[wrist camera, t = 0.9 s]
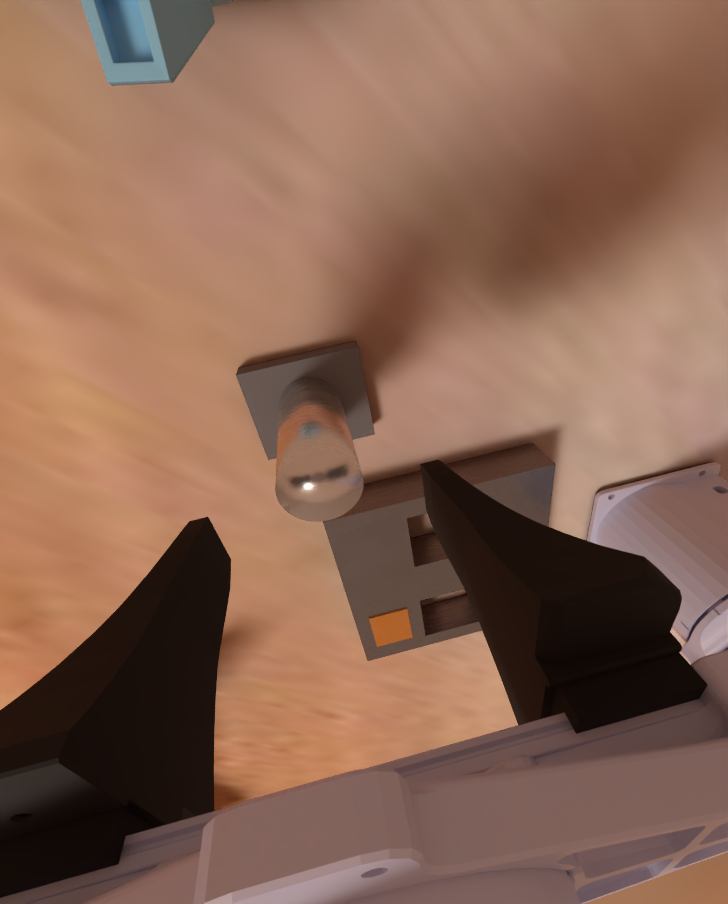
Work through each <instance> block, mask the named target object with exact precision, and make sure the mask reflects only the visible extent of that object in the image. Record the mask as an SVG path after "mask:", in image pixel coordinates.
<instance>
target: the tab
mask: <svg viewBox="0 0 728 904" xmlns="http://www.w3.org/2000/svg"><path fill="white" fill-rule="evenodd" d="M236 376H237V379H238V381H239V384H240V387H241V389H242V392H243V395H244V397H245V400H246V402H247V405H248V408H249V410H250V413H251V416H252V418H253V421H254V423H255V426H256V429H257V431H258V434H259V437H260V439H261V442H262V444H263V447H264V450H265V452H266V455H267V458H268V460H270V459H275V458H277V439H278V415H279V400H280V397H281V395H282V393H283V391H284V390H285V388H286V387H287V386H288V385H290V384H291V383H292V382H294V381H296V380H298V379H301V378H307V377H313V378H319V379H322V380H325V381H327V382H328V383H330V384H331V385H332V386H333V387H334V388H335V389H336V390H337V392H338V394H339V396H340V399H341V402H342V406H343V409H344V413H345V416H346V420H347V423H348V427H349V430H350V434H351V437H352V440H353V439H357V438H361V437H366V436H370V435H374V434H375V432H374V427H373V422H372V417H371V411H370V406H369V401H368V396H367V390H366V385H365V380H364V374H363V369H362V364H361V359H360V353H359V348H358V345H357V343H356V341H353V342H349V343H345V344H340V345H336V346H332V347H327V348H323V349H319V350H314V351H310V352H306V353H301V354H297V355H293V356H288V357H284V358H280V359H275V360H271V361H267V362H262V363H258V364H253V365H249V366H245V367H240V368H238V371H237V374H236Z"/></svg>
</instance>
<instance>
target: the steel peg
mask: <svg viewBox="0 0 728 904" xmlns="http://www.w3.org/2000/svg"><path fill="white" fill-rule="evenodd" d="M363 484H364V482H363V476H362V473H361V469H360V465H359V462H358V458H357V455H356V451H355V448H354V444H353V441H352V437H351V434H350V430H349V427H348V423H347V420H346V416H345V413H344V409H343V406H342V402H341V399H340V396H339V394H338V392H337V390H336V389H335V388H334V387H333V386H332V385H331V384H330V383H328V382H327V381H325V380H322V379H319V378H313V377H307V378H301V379H298V380H296V381H294V382H292V383H291V384H290V385H288V386H287V387H286V388H285V390H284V391H283V393H282V395H281V397H280V400H279V415H278V439H277V463H276V487H275V490H276V496H277V499H278V501H279V503H280V504H281V506H282V507H283V508H284V509H285V510H286V511H287V512H288V513H290V514H291V515H293V516H295V517H297V518H299V519H302V520H307V521H327V520H331V519H334V518H337V517H339V516H341V515H343V514H345V513H347V512H348V511H349V510H350V509H352V508H353V507H354V506H355V504H356V503H357V502H358V500H359V499H360V497H361V494H362V491H363Z"/></svg>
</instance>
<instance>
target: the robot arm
mask: <svg viewBox="0 0 728 904" xmlns="http://www.w3.org/2000/svg"><path fill="white" fill-rule="evenodd" d="M720 469H721V465H720V464H718V463H716V462H711V463H708V464H704V465H700V466H696V467H692V468H688V469H684V470H680V471H676V472H672V473H668V474H665V475H661V476H657V477H653V478H649V479H645V480H641V481H637V482H633V483H629V484H625V485H621V486H618V487H614V488H610V489H606V490H602V491H600V492H598V493H597V494H596V496H595V501H594V506H593V511H592V516H591V521H590V526H589V532H588V537H587V541H586V540H582V539H579V538H576V537H574V536H571V535H568V534H565V533H562V532H560V531H558V530H555V529H553V528H550V527H548V526H545V525H543V524H540V523H538V522H536V521H534V520H531V519H529V518H527V517H525V516H523V515H521V514H519V513H517V512H515V511H513V510H511V509H510V508H508V507H506V506H504V505H503V504H501V503H499V502H497V501H496V500H494V499H493V498H491V497H489V496H488V495H486V494H485V493H483V492H482V491H480V490H479V489H477V488H476V487H474V486H473V485H471V484H470V483H469V482H467V481H466V480H465V479H463V478H462V477H460V476H459V475H458V474H456V473H455V472H454V471H453V470H451V469H450V468H449V467H447V466H446V465H445V464H444V463H442V462H441V461H439V460H435V461H431V462H427V463H423V464H421V471H422V479H423V488H424V496H425V504H426V511H427V513H428V516H429V519H430V521H431V524H432V526H433V529H434V532H435V534H436V536H437V538H438V540H439V542H440V544H441V546H442V548H443V550H444V551H445V553H446V555H447V557H448V559H449V561H450V563H451V565H452V566H453V568H454V570H455V572H456V574H457V576H458V578H459V579H460V581H461V583H462V585H463V587H464V589H465V591H466V593H467V595H468V597H469V599H470V601H471V604H472V606H473V609H474V611H475V614H476V616H477V618H478V621H479V623H480V626H481V628H482V631H483V633H484V636H485V638H486V641H487V643H488V646H489V648H490V651H491V653H492V656H493V658H494V661H495V664H496V666H497V669H498V671H499V674H500V677H501V679H502V682H503V685H504V687H505V690H506V692H507V695H508V698H509V701H510V703H511V706H512V709H513V712H514V714H515V717H516V720H517V723H518V726H515V727H511V728H508V729H504V730H500V731H497V732H493V733H490V734H486V735H483V736H479V737H476V738H472V739H468V740H465V741H461V742H458V743H454V744H451V745H447V746H444V747H440V748H437V749H433V750H429V751H426V752H422V753H419V754H415V755H412V756H408V757H405V758H401V759H398V760H394V761H390V762H387V763H383V764H380V765H376V766H373V767H369V768H366V769H361V770H355V771H350V772H346V773H342V774H339V775H335V776H332V777H328V778H325V779H321V780H318V781H314V782H311V783H307V784H303V785H300V786H296V787H293V788H289V789H286V790H282V791H279V792H275V793H271V794H268V795H264V796H261V797H257V798H254V799H250V800H247V801H243V802H240V803H237V804H235V805H233V806H230V807H227V808H224V809H220V810H217V811H214V723H215V698H216V682H217V667H218V659H219V652H220V646H221V640H222V634H223V628H224V622H225V617H226V611H227V604H228V598H229V592H230V578H231V559H230V557H229V555H228V553H227V551H226V549H225V547H224V546H223V544H222V542H221V540H220V538H219V536H218V534H217V533H216V531H215V529H214V527H213V525H212V523H211V521H210V520H209V518H208V517H205V518H201V519H197V520H193V521H190V522H189V523H188V524H187V525H186V526H185V527H184V529H183V530H182V531H181V532H180V534H179V535H178V536H177V538H176V539H175V540H174V542H173V543H172V544H171V545H170V547H169V548H168V549H167V551H166V552H165V553H164V554H163V556H162V557H161V558H160V560H159V561H158V562H157V563H156V565H155V566H154V567H153V568H152V570H151V571H150V572H149V573H148V575H147V576H146V577H145V578H144V579H143V580H142V582H141V583H140V584H139V585H138V586H137V587H136V589H135V590H134V591H133V592H132V593H131V595H130V596H129V597H128V598H127V599H126V600H125V601H124V602H123V604H122V605H121V606H120V607H119V608H118V609H117V610H116V611H115V612H114V613H113V614H112V615H111V616H110V617H109V618H108V619H107V620H106V621H105V622H104V623H103V624H102V625H101V626H100V627H99V628H98V629H97V630H96V631H95V632H94V633H93V634H92V635H91V636H90V637H89V638H88V639H87V640H85V641H84V642H83V643H82V644H81V645H80V646H79V647H78V648H77V649H75V650H74V651H73V652H72V653H71V654H70V655H69V656H68V657H67V658H66V659H64V660H63V661H62V662H61V663H60V664H59V665H57V666H56V667H55V668H54V669H53V670H51V671H50V672H49V673H48V674H47V675H45V676H44V677H43V678H42V679H41V680H39V681H38V682H37V683H35V684H34V685H33V686H32V687H30V688H29V689H28V690H27V691H25V692H24V693H23V694H22V695H20V696H19V697H18V698H16V699H15V700H14V701H12V702H11V703H10V704H8V705H7V706H6V707H4V708H3V709H1V710H0V904H584V903H587V902H590V901H593V900H596V899H598V898H601V897H604V896H607V895H609V894H612V893H615V892H618V891H621V890H623V889H626V888H629V887H632V886H634V885H637V884H640V883H643V882H645V881H648V880H651V879H654V878H657V877H659V876H662V875H665V874H667V873H670V872H673V871H676V870H679V869H681V868H684V867H687V866H690V865H693V864H695V863H698V862H701V861H703V860H706V859H709V858H712V857H715V856H718V855H721V854H723V853H726V852H728V481H727V480H725V479H724V478H722V477H720V476H719V475H718V474H719V472H720ZM671 628H673V629H674V630H675V631H676V632H677V633H678V635H679V636H680V637H681V638H682V639H683V640H684V641H685V642H686V644H685V645H684V646H683V647H682V646H681V644H680V643H679V642H678V641H677V639H676V638H675V637H674V636H673V635H672V634H671V633H670V630H671ZM680 651H681V652H682V653H683V654H684V656H685V657H686V658H687V659H688V660H689V661H690V662H691V663H692V664H691V665H690V664H689V663H688V662H687V661H686V660H685V659H684V658H683V656H682V655H681V654H680V653H679V652H680Z"/></svg>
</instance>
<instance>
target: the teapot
mask: <svg viewBox="0 0 728 904" xmlns="http://www.w3.org/2000/svg"><path fill="white" fill-rule="evenodd" d="M230 1H233V0H81V2H82V5H83V8H84V11H85V14H86V17H87V20H88V23H89V26H90V30H91V33H92V36H93V39H94V42H95V45H96V48H97V51H98V55H99V58H100V61H101V64H102V67H103V70H104V73H105V76H106V79H107V83H109V84H111V85H112V86H115V85H135V84H156V83H173V82H174V80H175V79H176V78H177V76H178V75H179V73H180V72H181V70H182V69H183V67H184V66H185V64H186V63H187V62H188V60H189V59H190V57H191V56H192V54H193V53H194V51H195V50H196V49H197V47H198V46H199V44H200V43H201V41H202V40H203V38H204V37H205V35H206V34H207V33H208V31H209V30H210V28H211V27H212V25H213V24H214V22H215V21H214V15H213V10H212V6H217V5H221V4H225V3H228V2H230Z"/></svg>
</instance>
